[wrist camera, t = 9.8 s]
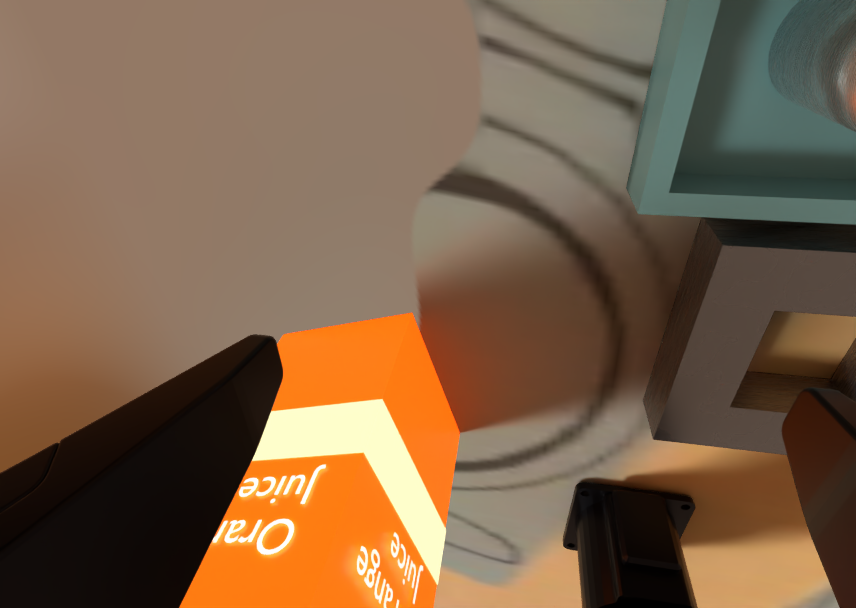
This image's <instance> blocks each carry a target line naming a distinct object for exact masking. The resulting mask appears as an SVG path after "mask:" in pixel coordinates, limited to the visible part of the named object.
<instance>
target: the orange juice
mask: <svg viewBox="0 0 856 608" xmlns="http://www.w3.org/2000/svg"><path fill="white" fill-rule="evenodd" d="M277 346H278V350H279V354H280V358H281V362H282V366H283V379H282V383H281V386H280V388H279V391H278V394H277V397H276V399H275V402H274V405H273V408H272V410H271V413H270V416H269V419H268V421H267V424H266V427H265V430H264V432H263V435H262V438H261V441H260V443H259V446H258V448H257V451H256V453H255V455H254V457H253V459H252V462H251V464H250V466H249V468H248V470H247V472H246V474H245V476H244V478H243V480H242V482H241V484H240V486H239V488H238V490H237V492H236V494H235V496H234V498H233V500H232V502H231V504H230V506H229V508H228V510H227V512H226V514H225V516H224V518H223V520H222V522H221V524H220V526H219V528H218V530H217V533H216V535H215V537H214V539H213V541H212V543H211V545H210V547H209V549H208V551H207V553H206V555H205V557H204V559H203V561H202V563H201V565H200V567H199V569H198V571H197V573H196V575H195V577H194V579H193V581H192V583H191V585H190V587H189V589H188V591H187V593H186V595H185V597H184V599H183V601H182V603H181V605H180V607H179V608H433V606H434V599H435V592H436V586H437V585H438V580H439V574H440V567H441V560H442V554H443V547H444V540H445V534H446V529H445V527H446V520H447V514H448V507H449V501H450V494H451V488H452V481H453V475H454V468H455V461H456V455H457V448H458V442H459V435H460V432H459V430H458V427H457V425H456V422H455V420H454V417H453V415H452V412H451V409H450V407H449V404H448V402H447V399H446V397H445V394H444V392H443V389H442V387H441V384H440V382H439V379H438V377H437V374H436V372H435V369H434V367H433V364H432V361H431V359H430V356H429V354H428V351H427V349H426V346H425V344H424V341H423V339H422V336H421V334H420V331H419V329H418V326H417V324H416V321H415V319H414V316H413V313H408V314H402V315H395V316H389V317H384V318H378V319H372V320H366V321H360V322H354V323H348V324H342V325H336V326H330V327H324V328H318V329H313V330H307V331H301V332H295V333H289V334H284V335H283V336H282V338H281V339H280V341H279V342H278V344H277Z"/></svg>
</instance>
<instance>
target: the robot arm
mask: <svg viewBox="0 0 856 608" xmlns="http://www.w3.org/2000/svg"><path fill="white" fill-rule="evenodd" d="M282 379H283V366H282V362H281V358H280V354H279V350H278V346H277V343H276V340H275V339H274V338H273V337H272V336H266V335H256V334H255V335H250V336H248V337H246V338H244V339H243V340H241V341H239V342H237V343H235V344H233V345H232V346H230V347H228V348H226V349H224V350H223V351H221V352H219V353H217V354H215V355H214V356H212V357H210V358H208V359H206V360H205V361H203V362H201V363H199V364H197V365H196V366H194V367H192V368H190V369H188V370H187V371H185V372H183V373H181V374H179V375H178V376H176V377H174V378H172V379H170V380H168V381H167V382H165V383H163V384H161V385H159V386H158V387H156V388H154V389H152V390H150V391H149V392H147V393H145V394H143V395H141V396H140V397H138V398H136V399H134V400H132V401H130V402H129V403H127V404H125V405H123V406H121V407H120V408H118V409H116V410H114V411H112V412H111V413H109V414H107V415H105V416H103V417H102V418H100V419H98V420H96V421H94V422H93V423H91V424H89V425H87V426H85V427H84V428H82V429H80V430H78V431H76V432H74V433H73V434H71V435H69V436H67V437H65V438H64V439H62V440H61V441H60V443H55V444H53V445H51V446H49V447H47V448H45V449H44V450H42V451H40V452H38V453H36V454H35V455H33V456H31V457H29V458H28V459H26V460H24V461H22V462H20V463H18V464H16V465H14V466H12V467H11V468H9V469H7V470H5V471H3V472H1V473H0V608H179V607H180V605H181V603H182V601H183V599H184V597H185V595H186V593H187V591H188V589H189V587H190V585H191V583H192V581H193V579H194V577H195V575H196V573H197V571H198V569H199V567H200V565H201V563H202V561H203V559H204V557H205V555H206V553H207V551H208V549H209V547H210V545H211V543H212V541H213V539H214V537H215V535H216V533H217V530H218V528H219V526H220V524H221V522H222V520H223V518H224V516H225V514H226V512H227V510H228V508H229V506H230V504H231V502H232V500H233V498H234V496H235V494H236V492H237V490H238V488H239V486H240V484H241V482H242V480H243V478H244V476H245V474H246V472H247V470H248V468H249V466H250V464H251V462H252V459H253V457H254V455H255V453H256V451H257V448H258V446H259V443H260V441H261V438H262V435H263V432H264V430H265V427H266V424H267V421H268V419H269V416H270V413H271V410H272V408H273V405H274V402H275V399H276V397H277V394H278V391H279V388H280V386H281V383H282ZM782 438H783V442H784V445H785V449H786V452H787V456H788V460H789V463H790V467H791V471H792V474H793V478H794V481H795V485H796V489H797V492H798V496H799V500H800V503H801V507H802V510H803V514H804V517H805V520H806V523H807V526H808V529H809V532H810V534H811V537H812V540H813V542H814V545H815V547H816V550H817V552H818V555H819V557H820V560H821V562H822V565H823V567H824V570H825V572H826V575H827V577H828V580H829V582H830V585H831V587H832V590H833V592H834V595H835V597H836V600H837V602H838V605H839V607H840V608H856V402H855V401H853V400H851V399H850V398H848V397H847V396H845V395H844V394H842V393H840V392H839V391H836V390H833V389H824V388H814V387H808V388H805V389H803V390H802V391H801V392H800V393H799V395H798V396H797V398H796V400H795V402H794V403H793V405H792V407H791V409H790V410H789V412H788V414H787V416H786V417H785V419H784V421H783V424H782ZM694 509H695V504H694V501H693V499H692V498H691V497H689V496H685V495H677V494H670V493H662V492H654V491H647V490H639V489H632V488H624V487H616V486H609V485H601V484H594V483H586V482H582V483H578V484H577V485H576V487H575V491H574V495H573V499H572V503H571V507H570V511H569V515H568V519H567V523H566V528H565V532H564V536H563V546H564V547H565V548H567V549H570V550H576V551H578V562H579V574H580V586H581V598H582V608H698V607H697V603H696V600H695V596H694V592H693V588H692V584H691V581H690V577H689V573H688V569H687V566H686V562H685V558H684V554H683V550H682V547H681V543H680V538H681V536H682V534H683V532H684V530H685V528H686V526H687V524H688V522H689V520H690V518H691V516H692V514H693V512H694Z"/></svg>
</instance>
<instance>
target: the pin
mask: <svg viewBox="0 0 856 608" xmlns="http://www.w3.org/2000/svg"><path fill="white" fill-rule="evenodd" d="M768 72H769V77H770V80H771V82H772V84H773V86H774V88H775V89H776V91H777V92H778V93H779V94H780V95H781V96H782V97H784V98H785V99H787V100H789V101H790V102H793V103H795V104H797V105H799V106H801V107H803V108H805V109H808V110H810V111H812V112H814V113H816V114H818V115H820V116H822V117H825V118H827V119H829V120H831V121H833V122H835V123H837V124H839V125H842V126H844V127H846V128H848V129H850V130H852V131H854V132H856V0H800V1H799V2H798V3H797V4H796V5H795V6H794V7H793V8H792V9H791V10H790V12H789V13H788V14H787V15H786V17H785V18H784V19H783V21H782V23H781V24H780V26H779V27H778V29H777V31H776V33H775V35H774V38H773V40H772V43H771V46H770V50H769V56H768Z"/></svg>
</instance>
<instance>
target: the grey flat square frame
mask: <svg viewBox="0 0 856 608" xmlns="http://www.w3.org/2000/svg"><path fill="white" fill-rule="evenodd" d="M774 311H786V312H799V313H812V314H826V315H839V316H852V317H856V225H853V224H832V223H811V222H791V221H770V220H750V219H729V218H709V217H702V218H701V221H700V224H699V227H698V230H697V233H696V236H695V240H694V243H693V246H692V249H691V252H690V255H689V258H688V261H687V265H686V268H685V271H684V274H683V277H682V280H681V283H680V286H679V290H678V293H677V296H676V299H675V302H674V305H673V308H672V311H671V315H670V318H669V321H668V324H667V327H666V330H665V333H664V336H663V340H662V343H661V346H660V349H659V352H658V355H657V358H656V362H655V365H654V368H653V371H652V374H651V377H650V380H649V383H648V387H647V390H646V393H645V396H644V399H643V402H644V406H645V410H646V414H647V418H648V421H649V425H650V429H651V433H652V436H653V439H654V440H662V441H671V442H679V443H688V444H697V445H705V446H714V447H723V448H731V449H740V450H748V451H757V452H766V453H774V454H783V455H787V452H786V449H785V445H784V442H783V438H782V424H783V421H784V419H785V417H786V416H787V414H788V412H789V410H790V409H791V407H792V405H793V403H794V402H795V400H796V398H797V396H798V395H799V393H800V392H801V391H802V390H803V389H805V388H808V387H814V388H824V389H833V390H836V391H839V392H840V393H842V394H844V395H845V396H847V397H848V398H850V399H851V400H853V401H855V402H856V338H855V340H854V342H853V343H852V345H851V347H850V348H849V350H848V352H847V353H846V355H845V357H844V358H843V360H842V362H841V363H840V365H839V367H838V368H837V370H836V372H835V373H834V375H833V377H832V378H831V379H823V378H812V377H802V376H791V375H780V374H769V373H759V372H748V371H747V369H748V367H749V365H750V362H751V360H752V358H753V356H754V354H755V352H756V349H757V347H758V345H759V343H760V341H761V339H762V337H763V334H764V332H765V330H766V328H767V326H768V324H769V322H770V319H771V317H772V315H773V313H774Z"/></svg>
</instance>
